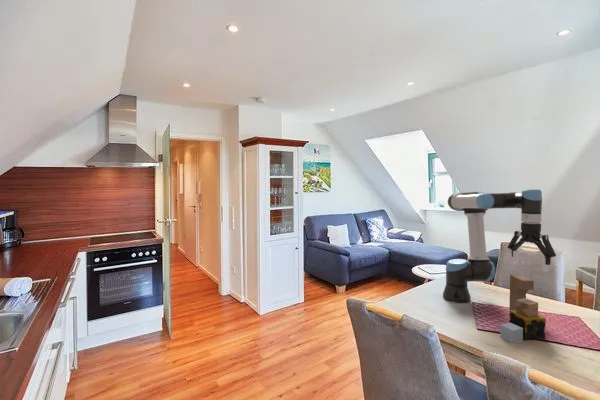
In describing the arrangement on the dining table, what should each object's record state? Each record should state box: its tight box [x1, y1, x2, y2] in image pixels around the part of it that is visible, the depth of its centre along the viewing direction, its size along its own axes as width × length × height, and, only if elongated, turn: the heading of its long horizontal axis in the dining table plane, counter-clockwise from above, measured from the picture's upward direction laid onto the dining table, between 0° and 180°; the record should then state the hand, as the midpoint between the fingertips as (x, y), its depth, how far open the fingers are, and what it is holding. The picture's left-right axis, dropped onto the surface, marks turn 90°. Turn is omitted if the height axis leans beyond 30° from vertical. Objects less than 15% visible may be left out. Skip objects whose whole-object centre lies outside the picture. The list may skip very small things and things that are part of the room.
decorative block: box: [509, 273, 535, 311], centre depth 166 cm, size 11×6×20 cm, turn 177°
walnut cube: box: [516, 297, 539, 318], centre depth 145 cm, size 6×6×6 cm
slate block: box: [499, 322, 524, 344], centre depth 142 cm, size 6×6×6 cm
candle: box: [508, 309, 547, 341], centre depth 145 cm, size 10×10×10 cm
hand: (529, 267), depth 147 cm, fingers open, 13 cm apart
